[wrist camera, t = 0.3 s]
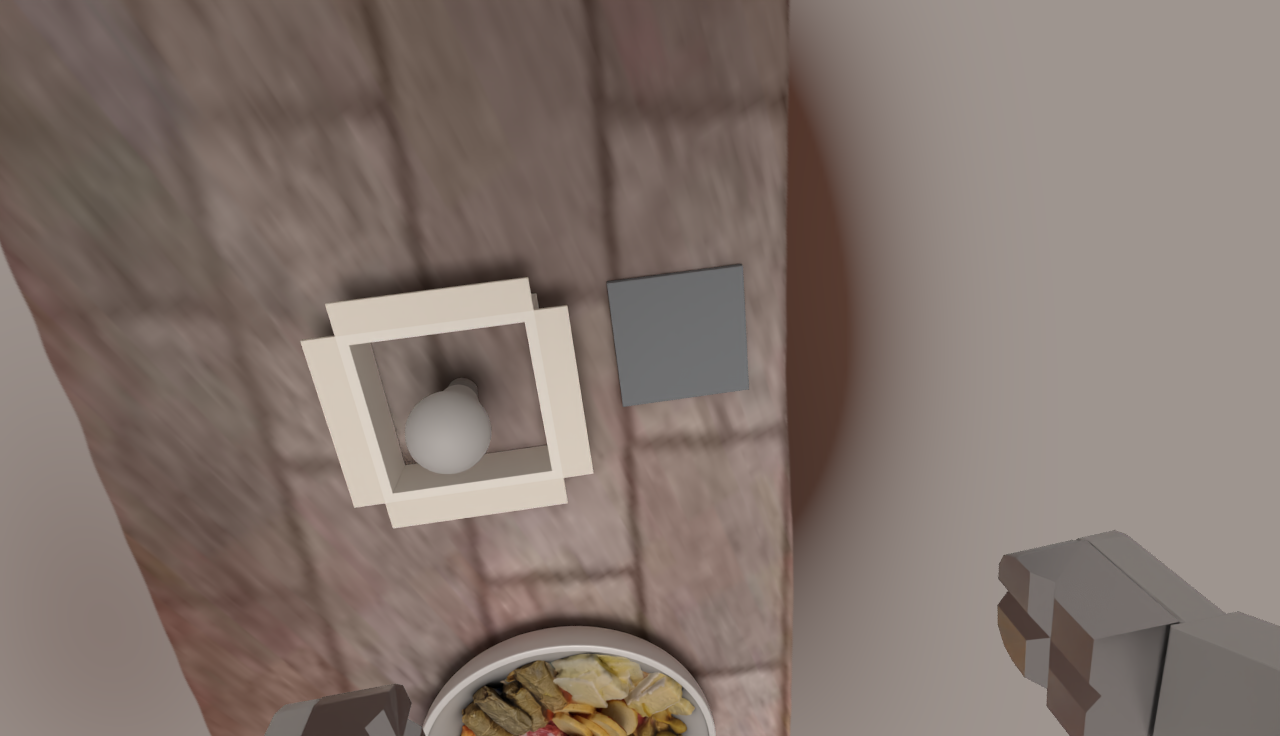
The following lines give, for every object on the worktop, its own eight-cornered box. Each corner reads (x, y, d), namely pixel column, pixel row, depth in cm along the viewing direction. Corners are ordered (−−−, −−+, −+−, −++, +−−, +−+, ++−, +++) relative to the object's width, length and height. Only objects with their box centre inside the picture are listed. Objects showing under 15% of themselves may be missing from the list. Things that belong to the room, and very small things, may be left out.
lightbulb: (468, 339, 56) (446, 397, 46) (516, 393, 58) (504, 459, 48) (411, 381, 57) (376, 446, 47) (459, 432, 59) (437, 505, 49)
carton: (311, 291, 53) (289, 308, 49) (562, 258, 54) (562, 273, 50) (376, 502, 61) (362, 532, 57) (595, 470, 62) (597, 498, 58)
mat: (606, 281, 55) (606, 283, 55) (741, 264, 56) (742, 265, 55) (622, 403, 59) (623, 406, 59) (747, 386, 60) (748, 389, 59)
